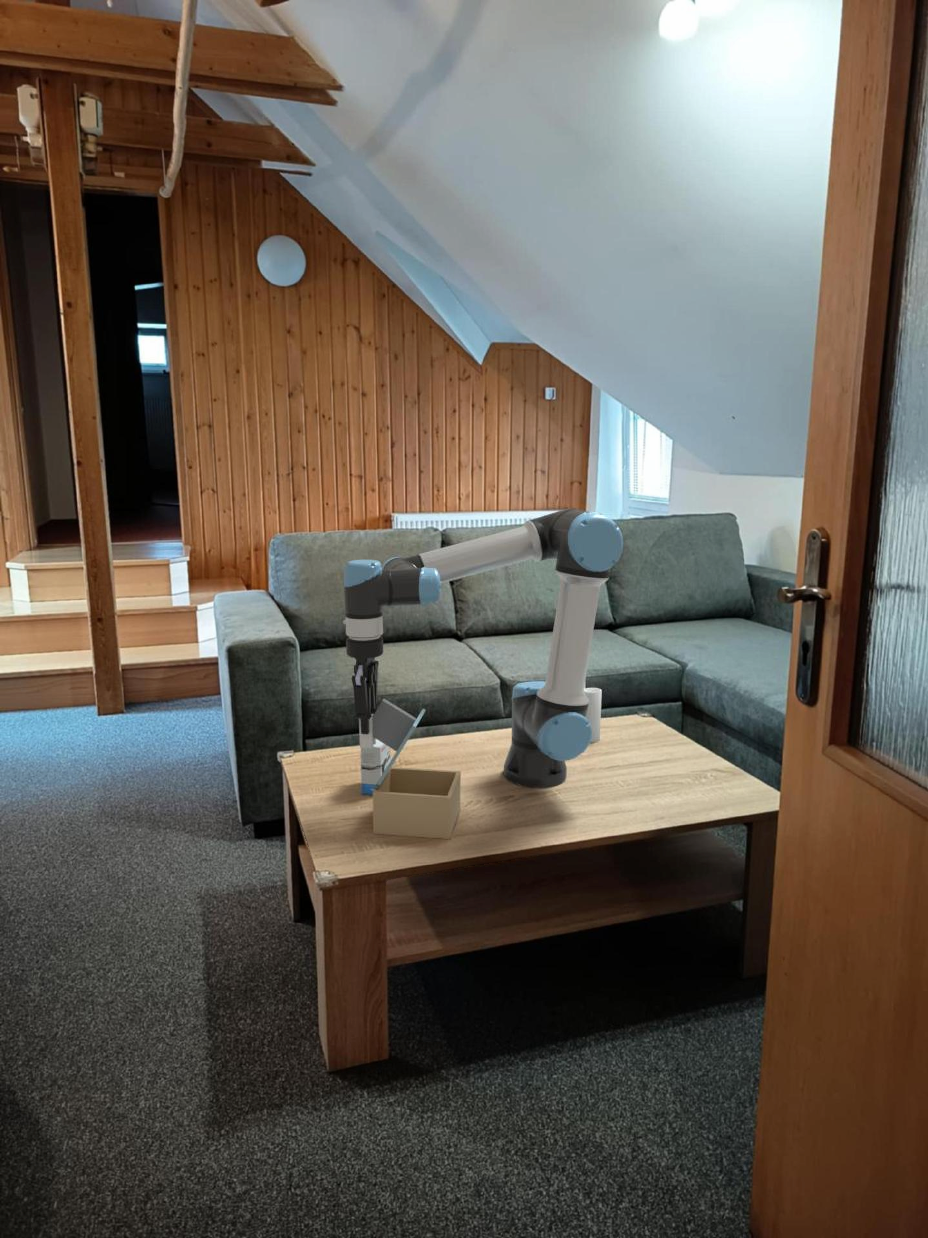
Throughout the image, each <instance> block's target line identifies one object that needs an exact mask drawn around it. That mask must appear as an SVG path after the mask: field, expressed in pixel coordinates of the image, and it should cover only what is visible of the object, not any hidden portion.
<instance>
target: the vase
mask: <svg viewBox="0 0 928 1238" xmlns="http://www.w3.org/2000/svg"><path fill="white" fill-rule="evenodd" d="M602 691H603V690H602V689H601V688H598V687H586V684H585V685H584V694H585V695H586V697H587V698H588V699H589V705H588V711H587V717H586V718H587V719H588V721H589V722H590V725H591V728H592V738H591V742H590V743H598V742H599V741H600V740H601V739H600V738H601V720H602V718H601V716H602V715H601V714H602V696H603V695H602V693H603V692H602Z"/></svg>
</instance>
